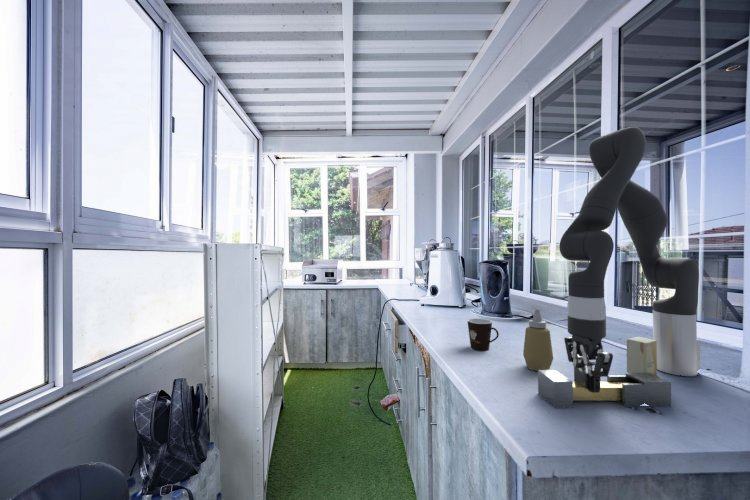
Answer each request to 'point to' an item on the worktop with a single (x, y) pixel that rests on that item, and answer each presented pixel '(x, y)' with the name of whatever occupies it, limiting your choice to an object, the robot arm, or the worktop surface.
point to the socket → (555, 388)
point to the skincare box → (641, 355)
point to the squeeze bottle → (537, 344)
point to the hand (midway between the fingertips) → (586, 386)
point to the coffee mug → (480, 333)
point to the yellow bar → (606, 388)
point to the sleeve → (643, 389)
